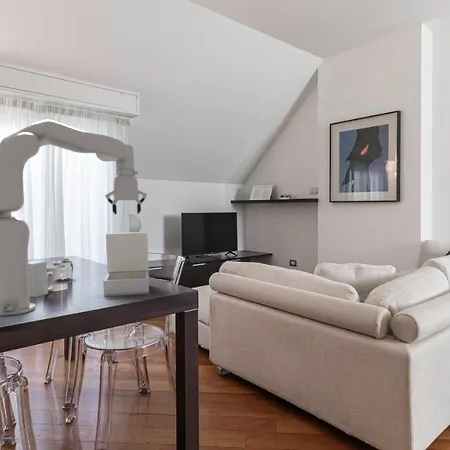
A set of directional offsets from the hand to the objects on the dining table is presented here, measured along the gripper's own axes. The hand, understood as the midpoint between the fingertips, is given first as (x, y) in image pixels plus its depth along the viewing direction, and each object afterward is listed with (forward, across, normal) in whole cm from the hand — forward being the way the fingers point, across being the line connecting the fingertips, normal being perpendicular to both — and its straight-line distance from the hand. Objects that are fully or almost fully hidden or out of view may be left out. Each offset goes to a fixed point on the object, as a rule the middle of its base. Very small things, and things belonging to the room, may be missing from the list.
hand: (127, 213), depth 168 cm
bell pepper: (+31, +32, -22) cm, 50 cm away
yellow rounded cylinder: (+30, 0, +11) cm, 32 cm away
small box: (+31, +36, +10) cm, 49 cm away
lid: (+17, 0, +3) cm, 17 cm away
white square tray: (+31, 0, +11) cm, 33 cm away
